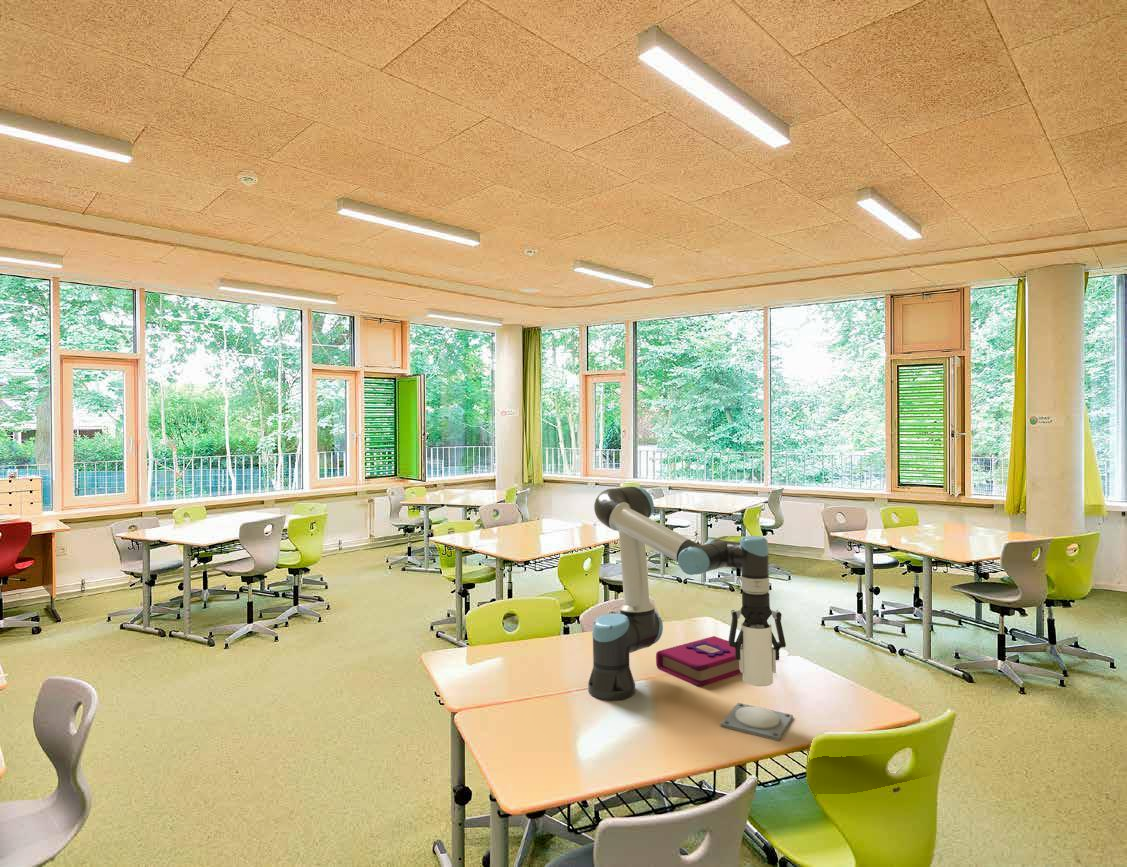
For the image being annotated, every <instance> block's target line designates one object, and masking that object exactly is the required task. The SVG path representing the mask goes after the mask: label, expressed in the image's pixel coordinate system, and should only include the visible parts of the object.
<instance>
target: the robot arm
mask: <svg viewBox="0 0 1127 867" xmlns="http://www.w3.org/2000/svg"><path fill="white" fill-rule="evenodd" d="M654 506H655V505H654V501H653V498H652V496H651V494H650V493H649V492H648V491H647V490H646V489H645V488H643V487H640V486H631V485H630V486H625V487H617V488H608V489H605V490H603V491H601V492H600V493H599V494H598V495H597V497H596V499H595V501H594V505H593V507H594V514H595V517H596V518H597V520H599V521H600V523H601V524H602V525H604V526H605V527H607V528H609V529H611V530H613V531H616V532H618V535H619V550H620V563H621V566H620V567H621V576H622V590H623V604H622V605H621V606H620V608H619V610H620V611H619V612H620V613H610V614H609V613H607V614H603V615H600V616H599V617H597V618H596V619H595V620H594V621H593V624H592V626H593V627H592V653H593V654H592V658H593V662H592V663H593V664H592V669H591V674H590V675H589V680H588V684H587V689H588V690H587V692H588V693H589V694H590V695H591V696H592V695H593V696H592V697H594V696H595V698H597V699H600V698H601V700H605V699H606V700H607V701H608V700H609V701H618V700H619V701H620V700H624V699H628V698H630V697H632V696H633V695H634V694H635V693H636V682H635V680H634V679H635V678H634V677H633V673H632V670H631V667H630V654H631V653H634V652H637V651H639V650H642V649H646V648H649V647H651V646H653V645H654V644H656V643H657V642H658V641H659V640H660V639H661V637H662V634H663V630H664V629H663V628H664V626H663V624H664V623H663V620H662V618H661V617H660V615H659V613H658V612H657V611H656V610H655V605H654V604H653V603H651V601H650V592H649V589H650V588H649V579H648V563H647V551H646V550H647V549H646V546H648V547H650V548H652V549H653V550H655V551H657V552H659V553H660V554H662V555H664V556H666V557H667V558H670V559H671V560H673V561H675V562H677V564H678V566H679V568H680V569H681V571H682V572H683V573H684V574H686V575H690V576H693V575H694V576H695V575H700V574H704V573H707V572H710V571H714V570H718V569H721V568H725V567H727V568H735V569H740V570H741V589H742V591H741V608H740V609H739V610H734V609H732V610H731V611H730V612H731V623H730V629H729V636H728V640H727V641H728V643H729V645H730V646H731V647H734V648H735V657H736V659H737V660H739V670H740V672H741V673H742V674H743V673H744V666H743V649H742V647H741V646H742V643H743V631H742V627H740V628H741V629H740V631H739V633H738V635H737V629H738V624H739V622H738V621H739V620H738V619H740V618H741V616H742V617H743V618H744V621H743V622H744V623H743V625H744V626H746V627H749V628H750V626H751V625H756V624H758V625H764V627H765V628H768V627H769V624H770V623H769V622H768V619H769V618H770V617H771V615H772V618H773V620H774V624H775V627H776V633H777V637H778V641H777V639H776V637H775V635H774V633H773V632H772V666H773V674H777V661H779V660H780V650H781V648H786V646H787V645H786V639H785V635H784V629H783V626H782V613H781V611H779V609H777V610H772V609H771V605H770V604H771V603H770V592H769V591H770V578H769V576H770V574H769V573H770V572H769V569H770V568H769V556H770V553H769V543H768V539H767V538H765V537H764V536H759V535H758V536H757V535H745V536H742V537H741V539H740V542H739V541H731V540H725V539H724V540H723V539H719V538H717V539H713V538H712V539H708V540H706V542H705V543H703V544H699V543H697V542H695V541H693V540H691V539H689V538H687V537H686V536H684V535H682V534H680V533H678V532H677V531H674V530H672V529H670V528H669V527H666V526H665V525H662V524H661V523H659V522H657V521H656V520H654V519H651V518H650V517H651V516H652V514H653V513H654V508H655V507H654ZM768 623H769V624H768ZM736 636H737V638H736ZM735 639H736V640H735Z"/></svg>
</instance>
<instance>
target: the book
mask: <svg viewBox="0 0 1127 867" xmlns="http://www.w3.org/2000/svg"><path fill="white" fill-rule="evenodd" d="M728 641H729V640H727V639H723V638H721V637H718V636H716V635H715V636H709V637H706V638H702V639H699V640H695V641H691V642H687V643H683V644H681V645H676V646H673V647H669V648H665V649H662V650H659V651H657V652H656V654H655V655H656V656H655V662H656V663H655V664H656V667H657V669H658V670H659V671H661V672H664V673H667V674H668V675H671V676H673V677H675V678H678V679H680V680H682V681H684V682H687V683H689V684H691V685H693V686H695V687H699V688H703V687H705V686H709V685H710V684H713V683H717V682H721V681H724V680H726V679H729V678H732V677H735V676H738V675H741V674H742V675H743V673H741V672H740V670H739V660H737V659H736V657H735V648H734V647H731V646H730V645H729V643H728ZM741 647H742V645H741Z"/></svg>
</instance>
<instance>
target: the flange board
mask: <svg viewBox="0 0 1127 867" xmlns="http://www.w3.org/2000/svg"><path fill="white" fill-rule="evenodd" d="M793 718H794V715H793V714H790V713H786V712H781V711H776V710H772V709H767V708H765V707H760V706H755V705H749V704H745V703H742V702H741V703H740V702H737V703H736V705H735V706H734V707H733V708H732V709H731V711H730V712H729V713H728V714H727V715H726V717H725V718H724V719H723V720H722V721H721V722H720V727H722V728H725V729H730V730H734V731H738V732H741V733H745V734H750V735H754V736H758V737H762V738H767V739H770V740H775V741H780V740H781V738H782V737H783V735H784V733H785V732H786V730H787V728H788V727H789V725H790V723H791V721H792V720H793Z"/></svg>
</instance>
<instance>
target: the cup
mask: <svg viewBox="0 0 1127 867" xmlns="http://www.w3.org/2000/svg"><path fill="white" fill-rule="evenodd" d="M743 623H744V621H742V622H741V625H740V626H741V627H740V628H742V631H743V643H742V645H741V646H742V649H743V666H744V673H742V681H743V682H744V683H745V684H746V685H749V686H753V687H768V686H771V685H772V684H773V683H774V677H773V676H774V675H773V674H774V673H773V666H772V647H773V644H772V633H773V630H772V624H771V623H769V622H768V624H769V627H768V628H765V627H764V625H758V624H756V625H751V626H750V628H749V627H746V626H744V625H743Z"/></svg>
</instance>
